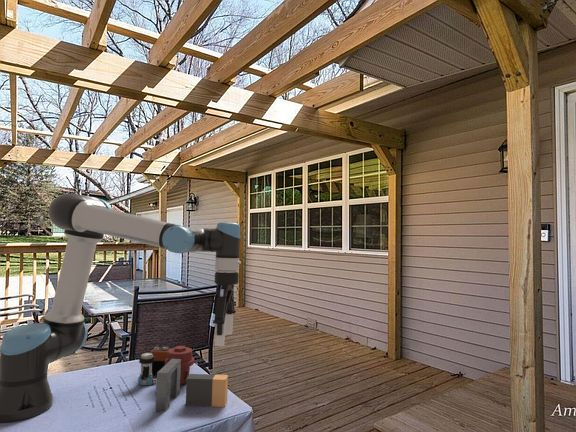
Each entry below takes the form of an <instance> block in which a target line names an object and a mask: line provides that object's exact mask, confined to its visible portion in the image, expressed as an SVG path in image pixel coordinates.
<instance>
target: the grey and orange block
mask: <svg viewBox="0 0 576 432" xmlns="http://www.w3.org/2000/svg"><path fill="white" fill-rule="evenodd" d="M228 382H229V375H228V374H210V373H209V374H204V373H189V376H188V377H187V382H186V383H185V385H186V386H185V406H189V407H214V408H215V407H222V408H223V407H224V408H225V407H226V405H227V402H228V386H229V385H228V384H229V383H228Z"/></svg>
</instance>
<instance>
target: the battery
mask: <svg viewBox="0 0 576 432" xmlns="http://www.w3.org/2000/svg"><path fill="white" fill-rule="evenodd" d="M170 349H171V348H169V346H163V347H159V346H155V347H154V348H153V349H152V350H150V352H149V353H152V355H153V356H155V358H154V362H152V375H154V377H157V372H158V371H160V370H161V369H162V368H163V367H164V366H165V360H166V359H167V358H168V350H170Z"/></svg>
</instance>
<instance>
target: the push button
mask: <svg viewBox="0 0 576 432" xmlns="http://www.w3.org/2000/svg"><path fill="white" fill-rule="evenodd" d="M154 358H155V356H153V355H152V353H150V352H145V353H142V354H141V355H140V356H139V357H138V361H139V364H140V374H139V376H138V378H137V385H139V386H141V385H142V386H151V385H152V384H155V383H156V384H157V378H155V376H154V375H152V362H154Z"/></svg>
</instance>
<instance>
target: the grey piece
mask: <svg viewBox="0 0 576 432" xmlns="http://www.w3.org/2000/svg"><path fill="white" fill-rule="evenodd" d="M180 372H181V359H171V360H170V361H169V362H168V363H167V364H166V365H165V366H164V367H163V368H162V369H161V370H160V371H158V372H157V376H156V379H157V380H156V382H157V383H156V386H155V387H156V388H155V389H156V390H155V391H156V392H155V408H154V409H155V412H163V413H165V412H167V411H168V409H169V408H170V405H171V399H176V398H177V397H178V396H179V395H180V394H181V391H180V390H181V389H180V387H181V385H180Z"/></svg>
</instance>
